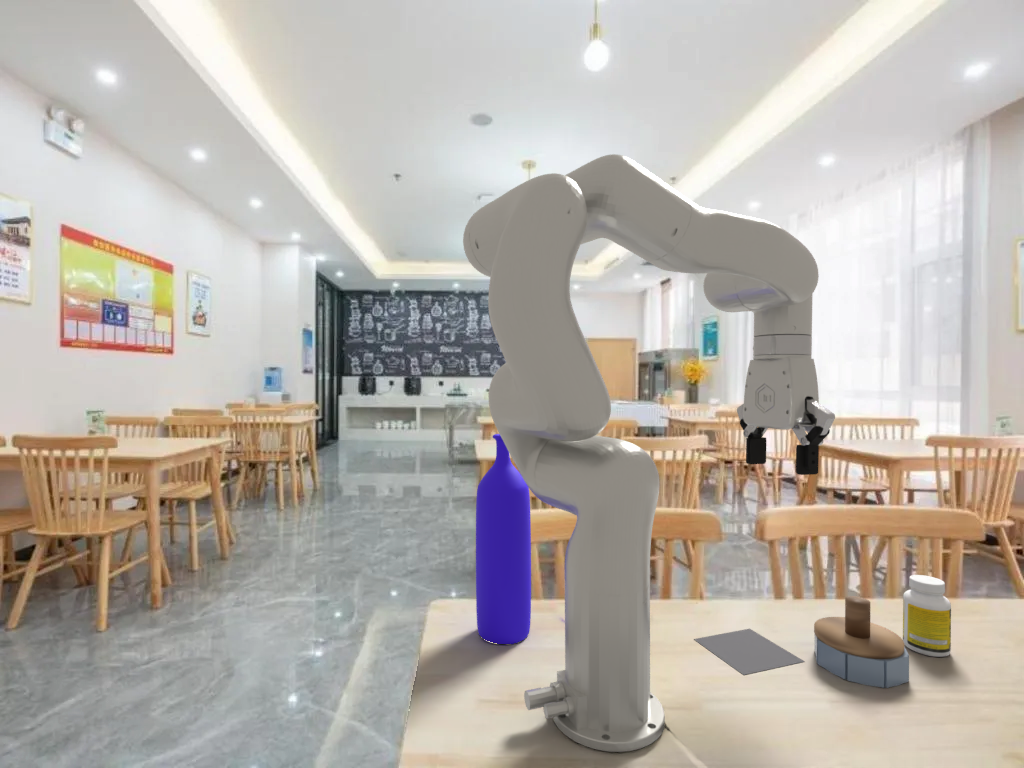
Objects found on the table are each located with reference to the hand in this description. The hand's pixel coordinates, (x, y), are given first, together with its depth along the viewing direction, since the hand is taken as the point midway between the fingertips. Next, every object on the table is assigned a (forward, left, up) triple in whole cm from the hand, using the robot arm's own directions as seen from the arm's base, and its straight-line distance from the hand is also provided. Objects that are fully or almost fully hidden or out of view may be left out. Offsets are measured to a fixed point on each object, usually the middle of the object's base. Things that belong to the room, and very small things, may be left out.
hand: (780, 468), depth 78 cm
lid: (+4, -9, -21) cm, 24 cm away
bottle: (-37, +16, -26) cm, 47 cm away
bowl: (+4, -9, -25) cm, 27 cm away
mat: (-7, -1, -25) cm, 26 cm away
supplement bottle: (+18, -8, -26) cm, 32 cm away
